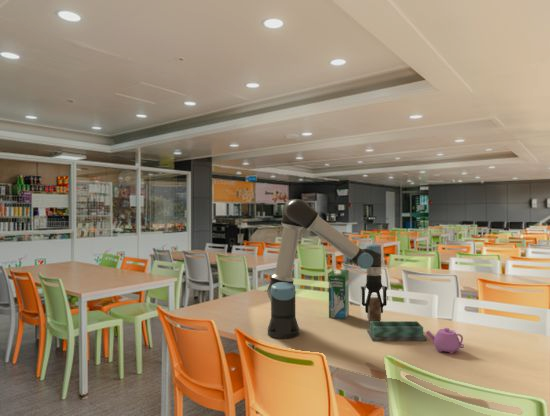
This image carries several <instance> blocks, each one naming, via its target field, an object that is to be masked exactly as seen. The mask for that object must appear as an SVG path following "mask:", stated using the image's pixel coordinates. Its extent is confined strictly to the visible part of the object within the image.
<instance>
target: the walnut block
mask: <svg viewBox="0 0 550 416" xmlns="http://www.w3.org/2000/svg"><path fill="white" fill-rule="evenodd" d="M369 307H370V320H368V322H369V323H370V321H381V320H380V299H378V297H377V296H375V297H374V296H372V297H371V298H370V302H369Z"/></svg>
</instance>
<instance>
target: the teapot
mask: <svg viewBox="0 0 550 416" xmlns="http://www.w3.org/2000/svg"><path fill="white" fill-rule="evenodd" d="M425 334H426V335H427V336H428V337H429V338H430V339H431V340H432V342H433V346H434V347H435V349H436V350H437V352H438V351H439V352H438V353H443V352H447V353H448V354H450V353H451V355H454V354H455V352H458V350H459V349H464V348H465V344H463V342H464V337H463V335H462V334H461V333H457V332H456V331H455V330H452V329H450V328H449V327H443V328H440V329H439V330H438V331H437V332H436V333H435V336H434V335H433V334H432V332H431V331H429V330H427V331H426V332H425ZM458 336H459V337H460V339H459V337H458ZM453 353H454V354H453Z"/></svg>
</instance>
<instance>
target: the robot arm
mask: <svg viewBox="0 0 550 416" xmlns="http://www.w3.org/2000/svg"><path fill="white" fill-rule="evenodd" d="M281 211H282V217H281V223H280V224H281V225H282V228H283V229H282V233H281V234H282V235H281V239H280V244H279V250H278V255H277V260H276V267H275V272H274V273H273V274H272V275H271V276H270V281H269V284H268V286H267V289H266V290H267V296H268V298H269V300H270V316H271V317H270V321H269V323H268V326H267V335H268V336H269V337H271V338H275V339H282V340H283V339H292V338H293V339H294V338H296V337H298V336H299V335H300V327H299V324H298V320H297V318H296V317H297V316H296V294H297V291H296V286H295V285H294V278H293V276H292V275H293V269H294V264H295V260H296V255H297V254H296V253H297V249H298V243H299V238H300V233H301V230H303V229H305V230H310V231H311V232H313V233H314V234H316V236H318V237H320V238H321V239H322V240H324V241H325V242H326V243H328V244H329V245H330V246H331V247H333V248H334V249H336V250H337V251H338V252H340V254H341V255H342V257H343V262H344V264H346V265H347V264H348V265H355V266H357V267H359V268H361V269H366V271H365V273H366V283H365V285H361V286H360V288H361V305H362V306H363V307H365V308H364V309H365V310H364V311H365V313H366V314H367V315H366V316H367V317H366V318H367V321H369V320H370V307H369V302H370V298H371V296H372V295H373V293H376V297H378V299H380V321H381V320H382V314H383V312H384V307H386V306H387V290H388V286H386V285H383V284H382V283H383V282H382V248H381V247H382V246H381V245H380V244H366V247H365V248H361V247H359V246H358V245H357V244H356V243H355V242H353V241H352V240H351V239H350V238H348V237H346V236H345V235H344V234H343V233H341V232H340V231H339V230H338V229H336V228H335V227H333V226H332V225H331V224H330V223H328V222H327V221H326V220H324V219H323V218H322V217H321V216H320V214H319V212H318V211H316V210H315V209H314V208H312V206H311V205H309V204H308V203H307V202H306V201H305V200H302V199H299V198H293V199H289V200H287V202H285V203H284V205H283V207H282V210H281ZM381 289H382V297H381V293H380V292H381ZM366 290H368V291H367V295H366Z"/></svg>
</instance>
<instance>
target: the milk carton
mask: <svg viewBox="0 0 550 416" xmlns="http://www.w3.org/2000/svg"><path fill="white" fill-rule="evenodd" d="M349 272H350V271H349V269H340V268H339V269H338V268H336V269H335V268H334V269H333V268H332V269H331V271H330V273H329V274H328V318H331V319H341V320H346V319H347V318H348V317H349V314H350V309H349V308H350V303H349V302H350V297H349V296H350V294H349V293H350V290H349V289H350V287H349V286H350V285H349V284H350V283H349V279H350V278H349V275H350V274H349Z"/></svg>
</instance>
